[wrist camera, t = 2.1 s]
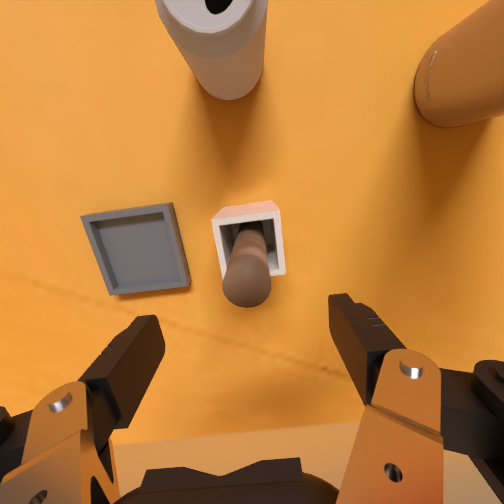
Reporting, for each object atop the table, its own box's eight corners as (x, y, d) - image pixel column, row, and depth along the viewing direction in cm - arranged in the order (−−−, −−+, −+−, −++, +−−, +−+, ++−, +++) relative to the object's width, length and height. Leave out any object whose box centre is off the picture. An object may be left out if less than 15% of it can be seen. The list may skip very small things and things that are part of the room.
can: (240, 117, 26) (229, 73, 15) (181, 76, 25) (119, -6, 14) (277, 47, 24) (296, -66, 13) (214, -1, 23) (173, -173, 12)
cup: (272, 200, 29) (279, 210, 20) (277, 246, 31) (285, 274, 22) (224, 206, 29) (211, 219, 21) (232, 252, 31) (223, 281, 23)
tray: (172, 202, 29) (167, 204, 28) (191, 280, 33) (187, 286, 31) (90, 214, 30) (80, 216, 28) (117, 289, 33) (109, 295, 32)
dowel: (261, 215, 29) (268, 260, 14) (264, 238, 30) (273, 304, 15) (238, 218, 29) (218, 267, 14) (241, 241, 30) (227, 309, 15)
